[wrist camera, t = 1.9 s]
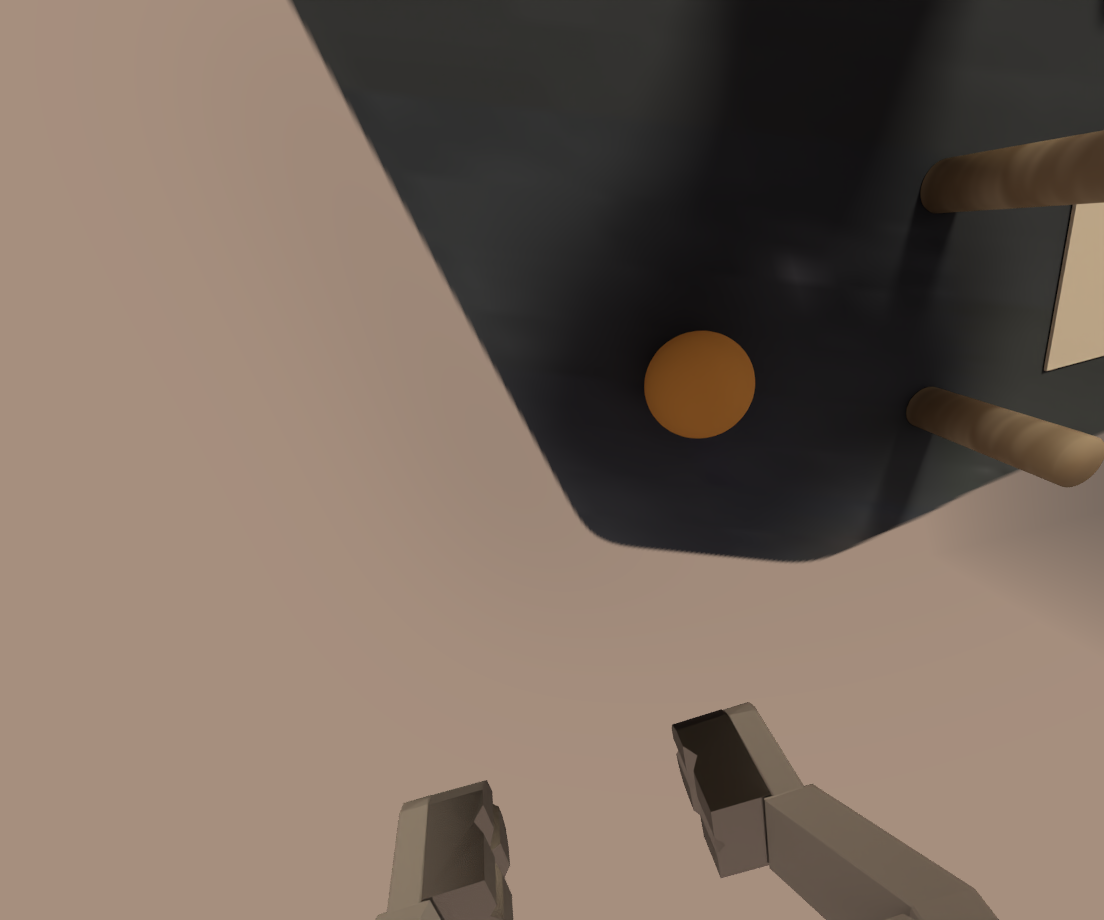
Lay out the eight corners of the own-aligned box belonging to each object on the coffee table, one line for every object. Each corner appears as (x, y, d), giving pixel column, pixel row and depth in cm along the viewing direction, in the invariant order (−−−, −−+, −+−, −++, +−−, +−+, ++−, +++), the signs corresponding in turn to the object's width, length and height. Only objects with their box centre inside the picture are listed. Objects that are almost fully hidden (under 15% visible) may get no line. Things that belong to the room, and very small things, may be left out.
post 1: (922, 164, 27) (1122, 129, 19) (969, 152, 27) (1188, 112, 19) (918, 218, 28) (1106, 208, 20) (963, 206, 28) (1168, 192, 20)
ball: (624, 337, 28) (657, 357, 23) (720, 312, 28) (774, 327, 23) (639, 429, 30) (673, 466, 25) (728, 405, 30) (779, 438, 25)
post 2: (907, 392, 32) (1059, 444, 24) (946, 382, 32) (1110, 430, 24) (904, 431, 33) (1049, 493, 25) (942, 420, 33) (1099, 479, 25)
